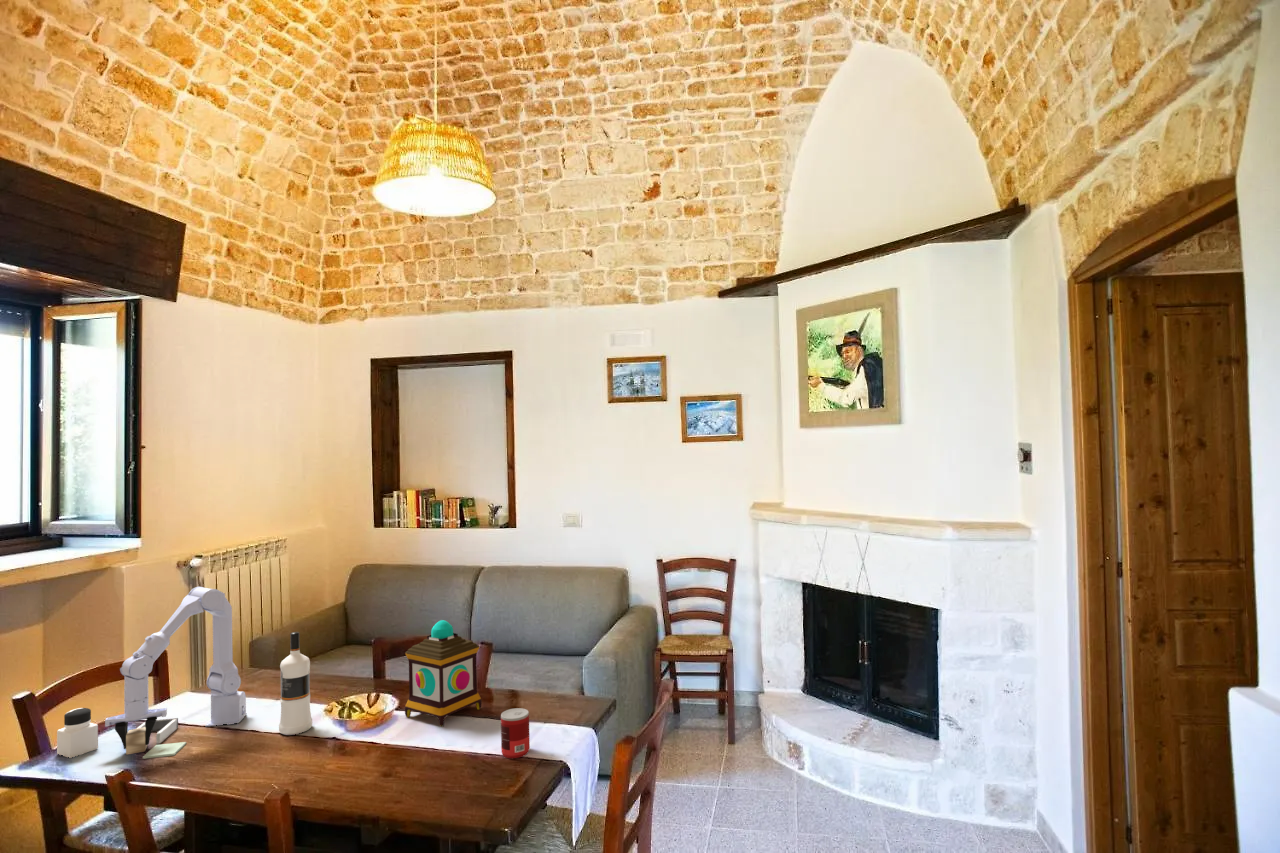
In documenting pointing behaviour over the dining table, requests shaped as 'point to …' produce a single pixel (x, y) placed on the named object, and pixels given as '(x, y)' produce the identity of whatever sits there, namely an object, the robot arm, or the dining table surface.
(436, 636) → the decorative lantern
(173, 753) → the tile
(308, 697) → the vodka
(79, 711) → the medicine bottle
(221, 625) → the robot arm
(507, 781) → the dining table surface
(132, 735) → the beech block
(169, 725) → the channel
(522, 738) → the canned food
